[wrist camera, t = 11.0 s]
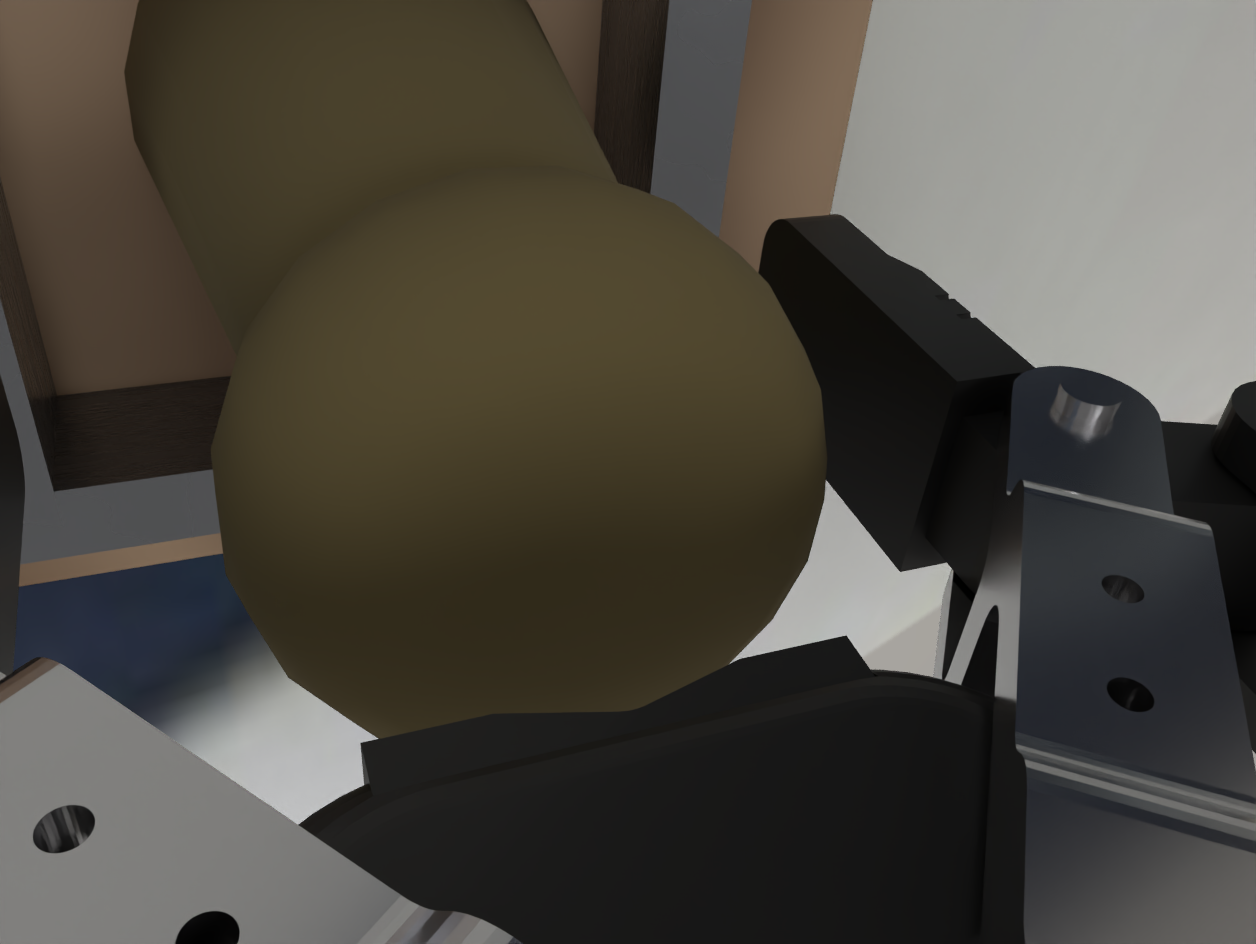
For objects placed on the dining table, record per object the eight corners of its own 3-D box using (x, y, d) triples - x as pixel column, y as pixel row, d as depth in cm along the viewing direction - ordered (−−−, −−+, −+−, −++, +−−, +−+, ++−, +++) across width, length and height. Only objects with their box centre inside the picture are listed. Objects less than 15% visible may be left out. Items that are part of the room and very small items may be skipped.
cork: (505, 301, 20) (797, 819, 12) (119, 274, 17) (149, 917, 9) (588, -73, 16) (1070, 282, 8) (129, -177, 14) (190, 190, 6)
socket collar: (708, -318, 15) (794, -303, 13) (636, 383, 22) (687, 459, 20) (-283, -402, 12) (-353, -394, 10) (-9, 468, 18) (-21, 570, 16)
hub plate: (917, -526, 16) (979, -532, 15) (750, 423, 25) (780, 462, 24) (-832, -804, 10) (-946, -849, 9) (-196, 564, 20) (-213, 624, 18)
